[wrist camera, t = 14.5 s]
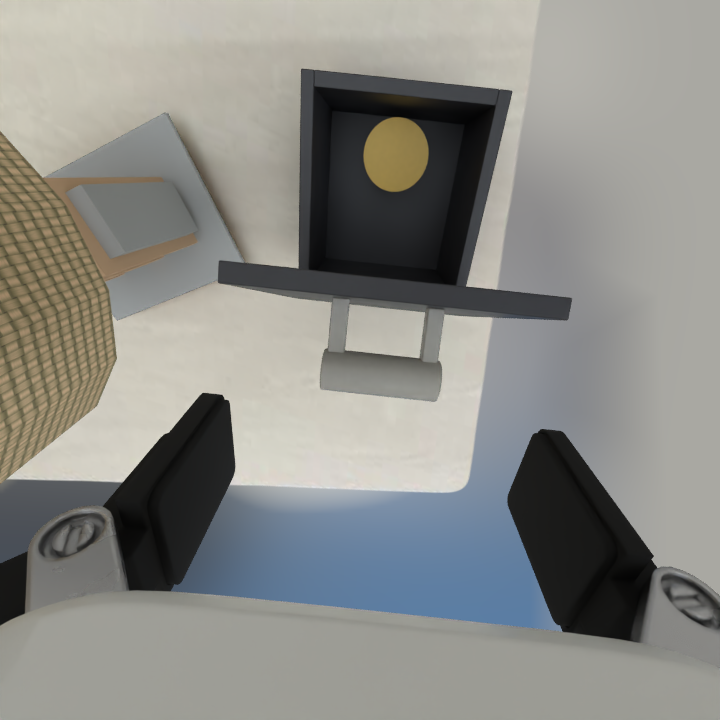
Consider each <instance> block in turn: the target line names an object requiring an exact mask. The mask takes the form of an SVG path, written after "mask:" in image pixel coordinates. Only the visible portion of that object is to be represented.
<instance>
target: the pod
mask: <svg viewBox="0 0 720 720" xmlns="http://www.w3.org/2000/svg"><path fill="white" fill-rule="evenodd" d="M428 155H429V152H428V143H427V140H426V137H425V135H424V133H423V131H422V130H421V128H420V127H419V126H418V125H417V124H416V123H414V122H413V121H411V120H409V119H407V118H403V117H392V118H389V119H386V120H384V121H382V122H381V123H379V124H378V125H377V126H376V127H375V128H374V129H373V130H372V131H371V133H370V134H369V136H368V138H367V141H366V143H365V147H364V165H365V169H366V172H367V174H368V176H369V177H370V179H371V180H372V181H373V183H374V184H376V185H377V186H378V187H380V188H381V189H383V190H386V191H391V192H398V191H403V190H406V189H408V188H410V187H411V186H413V185H414V184H415V183H416V182H417V181H418V180H419V179H420V178H421V176H422V175H423V173H424V171H425V169H426V166H427V162H428Z"/></svg>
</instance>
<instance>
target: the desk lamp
mask: <svg viewBox="0 0 720 720" xmlns="http://www.w3.org/2000/svg"><path fill="white" fill-rule="evenodd" d="M220 260H223V261H232V262H241V263H245V261H244V260H243V258H242V256H241V254H240V252H239V250H238V248H237V246H236V244H235V242H234V240H233V238H232V236H231V234H230V232H229V230H228V228H227V227H226V225H225V223H224V221H223V219H222V217H221V215H220V213H219V211H218V209H217V207H216V205H215V203H214V201H213V199H212V197H211V196H210V194H209V192H208V190H207V188H206V186H205V184H204V182H203V180H202V178H201V176H200V174H199V172H198V170H197V168H196V166H195V165H194V163H193V161H192V159H191V157H190V155H189V153H188V151H187V149H186V147H185V145H184V143H183V141H182V139H181V137H180V135H179V134H178V132H177V130H176V128H175V126H174V124H173V122H172V120H171V118H170V116H169V114H168V113H163V114H161V115H160V116H158V117H156V118H154V119H152V120H150V121H148V122H147V123H145V124H143V125H141V126H139V127H137V128H135V129H134V130H132V131H130V132H128V133H126V134H124V135H122V136H121V137H119V138H117V139H115V140H113V141H111V142H109V143H108V144H106V145H104V146H102V147H100V148H98V149H96V150H95V151H93V152H91V153H89V154H87V155H85V156H83V157H82V158H80V159H78V160H76V161H74V162H72V163H70V164H68V165H67V166H65V167H63V168H61V169H59V170H57V171H55V172H54V173H52V174H50V175H48V176H46V177H44V178H42V177H41V176H40V175H39V174H38V172H37V171H36V170H35V169H34V168H33V167H32V166H31V165H30V164H29V163H28V161H27V160H26V159H25V158H24V157H23V156H22V155H21V154H20V153H19V151H18V150H17V149H16V148H15V147H14V146H13V145H12V144H11V143H10V141H9V140H8V139H7V138H6V137H5V136H4V135H3V134H2V133H1V132H0V484H1V483H2V482H3V481H4V480H6V479H7V478H8V477H9V476H11V475H12V474H13V473H14V472H16V471H17V470H18V469H19V468H21V467H22V466H23V465H24V464H25V463H27V462H28V461H29V460H30V459H32V458H33V457H34V456H35V455H37V454H38V453H39V452H40V451H42V450H43V449H44V448H45V447H47V446H48V445H49V444H50V443H51V442H53V441H54V440H55V439H56V438H58V437H59V436H60V435H61V434H63V433H64V432H65V431H66V430H68V429H69V428H70V427H71V426H72V425H74V424H75V423H76V422H77V421H79V420H80V419H81V418H82V417H84V416H85V415H86V414H87V413H89V412H90V411H91V410H92V409H94V408H95V407H96V406H97V404H98V402H99V400H100V397H101V395H102V392H103V390H104V388H105V385H106V383H107V381H108V378H109V376H110V373H111V371H112V369H113V366H114V364H115V362H116V359H117V356H116V347H115V338H114V329H113V320H112V314H113V316H114V317H115V318H116V320H120V319H122V318H125V317H127V316H130V315H132V314H135V313H137V312H140V311H142V310H145V309H147V308H150V307H152V306H155V305H157V304H160V303H162V302H165V301H167V300H170V299H172V298H175V297H177V296H180V295H182V294H185V293H187V292H190V291H192V290H195V289H197V288H200V287H202V286H205V285H207V284H210V283H212V282H215V281H217V280H218V265H219V261H220Z"/></svg>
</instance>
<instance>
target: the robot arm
mask: <svg viewBox="0 0 720 720" xmlns="http://www.w3.org/2000/svg"><path fill="white" fill-rule="evenodd" d="M234 472H235V456H234V445H233V434H232V423H231V412H230V403H229V401H228V400H224V397H223V395H219V394H209V393H202V394H201V395H200V396H199V397H198V398H197V400H196V401H195V402H194V403H193V404H192V406H191V407H190V408H189V409H188V410H187V412H186V413H185V414H184V415H183V417H182V418H181V419H180V420H179V421H178V423H177V424H176V425H175V426H174V427H173V429H172V430H171V431H170V432H169V433H167V434H164V435H163V436H162V437H161V438H160V439H159V440H158V442H157V443H156V444H155V445H154V446H153V447H152V449H151V450H150V451H149V452H148V453H147V455H146V456H145V457H144V458H143V459H142V460H141V462H140V463H139V464H138V465H137V466H136V468H135V469H134V470H133V471H132V472H131V474H130V475H129V476H128V477H127V478H126V479H125V481H124V482H123V483H122V484H121V485H120V487H119V488H118V489H117V490H116V491H115V493H114V494H113V495H112V496H111V497H110V498H109V500H108V501H107V502H106V503H105V504H104V506H103V507H100V506H95V505H93V506H82V507H79V508H75V509H71V510H69V511H67V512H65V513H62V514H60V515H58V516H57V517H55V518H54V519H52V520H51V521H49V522H47V523H46V524H45V525H44V526H43V527H42V528H41V529H40V530H39V531H38V532H37V533H36V534H35V536H34V537H33V539H32V540H31V542H30V545H29V549H28V552H25V553H23V554H21V555H19V556H16V557H14V558H12V559H10V560H7V561H5V562H3V563H0V720H720V596H719V594H717V593H716V592H715V591H714V590H713V589H711V588H710V587H709V586H708V585H707V584H705V583H704V582H702V581H701V580H699V579H698V578H696V577H695V576H693V575H691V574H689V573H687V572H685V571H683V570H680V569H676V568H673V567H660V568H657V567H656V565H655V564H654V563H653V561H652V560H651V559H652V558H653V557H654V556H653V554H652V553H651V552H650V550H649V549H648V547H647V546H646V545H645V543H644V542H643V541H642V540H641V538H640V536H639V535H638V534H637V532H636V531H635V530H634V528H633V527H632V526H631V524H630V523H629V521H628V520H627V519H626V517H625V516H624V515H623V513H622V512H621V510H620V509H619V508H618V506H617V505H616V504H615V502H614V501H613V499H612V498H611V497H610V495H609V494H608V493H607V491H606V490H605V488H604V487H603V486H602V484H601V483H600V482H599V480H598V479H597V478H596V476H595V475H594V473H593V472H592V471H591V469H590V468H589V466H588V465H587V464H586V462H585V461H584V460H583V458H582V457H581V456H580V454H579V453H578V451H577V450H576V449H575V447H574V446H573V445H572V443H571V442H570V440H569V439H568V438H567V437H566V435H565V434H564V433H563V432H561V431H555V430H546V429H541V430H540V431H539V432H538V433H535V434H533V435H532V437H531V440H530V442H529V445H528V447H527V449H526V452H525V454H524V457H523V459H522V462H521V464H520V467H519V469H518V472H517V474H516V477H515V479H514V482H513V484H512V486H511V489H510V491H509V494H508V507H509V509H510V512H511V515H512V517H513V520H514V522H515V525H516V527H517V530H518V532H519V535H520V537H521V540H522V543H523V545H524V548H525V550H526V553H527V555H528V558H529V560H530V563H531V565H532V568H533V570H534V573H535V576H536V578H537V580H538V583H539V586H540V588H541V591H542V593H543V596H544V598H545V601H546V603H547V606H548V608H549V611H550V614H551V616H552V618H553V620H554V622H555V623H556V624H557V625H560V626H561V629H562V631H563V632H559V631H551V630H542V629H534V628H525V627H515V626H506V625H498V624H489V623H479V622H471V621H462V620H452V619H444V618H435V617H425V616H415V615H405V614H397V613H387V612H379V611H369V610H359V609H349V608H340V607H331V606H321V605H310V604H301V603H291V602H282V601H271V600H262V599H252V598H241V597H230V596H219V595H206V594H194V593H183V592H170V591H171V589H172V588H173V585H174V584H177V585H178V584H180V583H181V582H182V580H183V578H184V576H185V574H186V572H187V570H188V568H189V566H190V564H191V562H192V560H193V558H194V556H195V554H196V552H197V550H198V548H199V546H200V544H201V542H202V540H203V538H204V536H205V534H206V532H207V529H208V527H209V525H210V523H211V521H212V519H213V517H214V515H215V513H216V511H217V509H218V507H219V505H220V503H221V501H222V499H223V497H224V495H225V493H226V491H227V489H228V486H229V485H230V483H231V480H232V478H233V476H234Z"/></svg>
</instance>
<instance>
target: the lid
mask: <svg viewBox="0 0 720 720" xmlns="http://www.w3.org/2000/svg"><path fill="white" fill-rule="evenodd" d="M218 283H221V284H226V285H232V286H237V287H242V288H247V289H252V290H257V291H262V292H267V293H272V294H277V295H282V296H287V297H292V298H298V299H307V300H316V301H325V302H332V308H331V318H330V329H329V340H328V349H327V348H326V349H325V350H324V353H323V357H322V363H321V372H320V388H321V389H322V390H331V391H340V392H349V393H358V394H367V395H377V396H386V397H395V398H404V399H413V400H423V401H432V402H435V401H436V400H437V399H438V396H439V393H440V389H441V382H442V367H441V363H440V361H438V356H439V348H440V341H441V334H442V327H443V320H444V314H446V315H455V316H471V317H496V318H520V319H521V318H522V319H544V320H546V319H547V320H568V318H569V312H570V307H571V302H572V298H567V297H558V296H549V295H539V294H530V293H521V292H512V291H502V290H493V289H484V288H474V287H465V286H456V285H446V284H437V283H428V282H418V281H409V280H400V279H391V278H381V277H372V276H363V275H353V274H344V273H335V272H325V271H316V270H307V269H297V268H288V267H279V266H269V265H260V264H251V263H241V262H232V261H223V260H220V261H219V265H218ZM349 304H353V305H363V306H372V307H381V308H390V309H400V310H409V311H418V312H425V320H424V327H423V335H422V342H421V350H420V358H410V357H401V356H392V355H383V354H373V353H364V352H355V351H346V350H345V343H346V333H347V324H348V314H349Z"/></svg>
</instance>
